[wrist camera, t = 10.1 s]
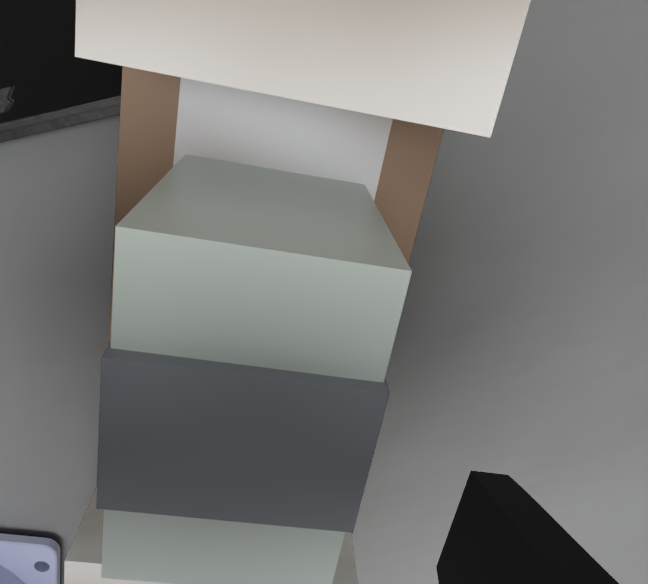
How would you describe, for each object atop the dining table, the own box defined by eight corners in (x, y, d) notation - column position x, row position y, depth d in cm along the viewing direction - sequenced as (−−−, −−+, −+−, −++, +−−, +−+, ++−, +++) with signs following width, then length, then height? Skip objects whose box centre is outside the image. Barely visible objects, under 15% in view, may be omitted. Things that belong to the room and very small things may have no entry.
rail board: (318, 577, 22) (328, 747, 17) (105, 557, 21) (41, 731, 16) (514, -187, 13) (671, -352, 8) (153, -284, 12) (42, -554, 7)
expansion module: (366, 184, 14) (419, 279, 8) (317, 416, 17) (332, 610, 11) (183, 154, 14) (105, 231, 8) (163, 398, 16) (93, 591, 11)
